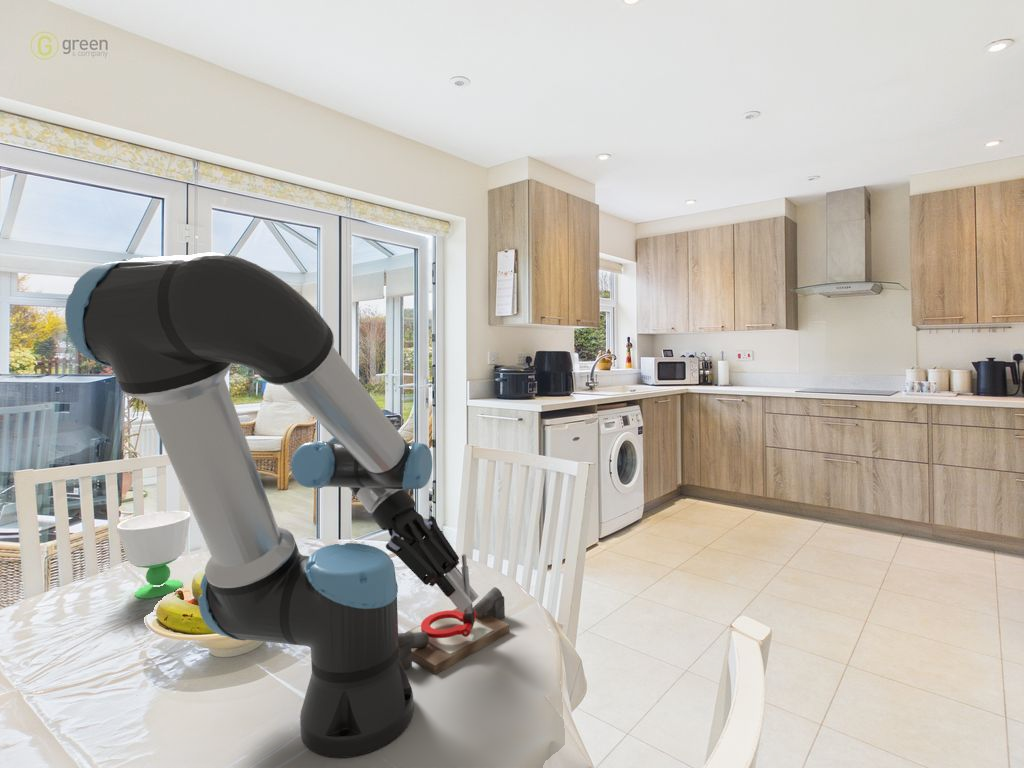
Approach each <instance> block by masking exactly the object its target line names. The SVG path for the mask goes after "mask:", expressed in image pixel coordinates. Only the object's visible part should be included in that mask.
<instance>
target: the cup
mask: <svg viewBox="0 0 1024 768" xmlns="http://www.w3.org/2000/svg"><path fill="white" fill-rule="evenodd" d="M165 511H166V513H165V512H164V511H157V512H151V513H145V514H142V515H141V514H140V515H137V516H133V517H130V518H127V519H124V520H122V521H121V522H119V523H118V524H117V526H116V530H117V533H118V536H119V539H120V542H121V545H122V547H123V551H124V554H125V558H126V560H127V562H129V563H130V565H132V566H135V567H137V568H144V569H147V571H146V575H145V579H146V582H147V583H149V584H147V585H144V586H141V587H139V589H137V590H136V591H134V597H136V598H138V599H145V600H146V599H154V598H160V597H164V596H168V595H169V594H173V593H174V591H175V590H176V589H178V588H180V589H181V588H182V587H183V586H184V585H183V584H184V583H183V581H181V580H179V579H177V580H175V579H169V578H170V577H171V569H170V567H169V566H168V564H171V563H173V562H174V561H176V560H177V559H178V558H179V557H181V556H182V555H183V553H184V552H185V549H186V543H187V537H188V532H189V525H190V520H191V513H190V512H189V511H185V510H165ZM163 583H165V584H164V585H163V586H160V587H153V585H161V584H163ZM175 592H176V591H175Z"/></svg>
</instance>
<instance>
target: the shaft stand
mask: <svg viewBox="0 0 1024 768" xmlns="http://www.w3.org/2000/svg"><path fill="white" fill-rule="evenodd" d="M472 608H473V610H474V611H475V612H476V614H477V615H476V618H475V622H474V625H473V628H472V629H471V631H470V634H469V636H467V637H464V636H463V635H455V636H452V637H447V638H432V637H429V636H428V634H427V633H426V632H422V631H421V624H420V625H418V626H417V627H414V628H412V629H410V630H408V631H405V632H398V645H399V658H400V660H401V663H402V665H403V668H404V670H405V671H407V670H408V669H410V668H412V667H413V662H414V663H415V664H417V665H419V666H420V667H422V668H423V669H426V670H427V671H429V672H430V673H432V674H434V675H437V674H439V673H440V672H443V671H444V670H446V669H447V668H449V667H451V666H452V665H455V664H456V663H459V662H460V661H462V660H464V659H465V658H467V657H469V656H470V655H472V654H474V653H476V652H478V651H479V650H481V649H483V648H485V647H486V646H488V645H489V644H492V643H493V642H495V641H497V640H499V639H501V638H502V637H504V636H505V635H507V634H509V633H510V632H511V631H510V624H509V623H508V622H505V621H502V619H504V618H505V616H506V614H505V612H506V611H505V610H506V608H505V596H503V593H502V591H501V590H500V589H499V588H498V587H496V586H494V587H492V588H491V589H490V590H489V591H488V592H487V593H486V594H485V595H484V596H483V597H482V598H481V599H480V600H479V601H478V602H477V603H476V604H475V605H474V606H472ZM452 610H453V611H459V610H458V608H457V607H456V608H454V609H452ZM463 613H464V611H463ZM457 625H464V624H463V622H460V621H459V620H458V619H455V618H444V619H440V620H437V621H435V622H433V623H432V624H431V625H430V627H431V628H433V629H437V630H445V629H450V628H453V627H455V626H457Z"/></svg>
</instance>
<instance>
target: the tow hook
mask: <svg viewBox="0 0 1024 768" xmlns="http://www.w3.org/2000/svg"><path fill="white" fill-rule="evenodd" d="M461 562H462V563H461V564H462V566H461V574H462V582H463V591H464V592H465V593H466V594H467V596H468V597H469V598H470V599H471V601H472V598H471V596H470V586H471V585H470V584H471V583H470V573H469V572H470V571H469V565H467V564H468V562H467V555H466V553H465V554H461ZM453 610H454V609H450V610H442V611H438V612H435V613H432V614H430V615H428V616H427V617H425V618H424V619H423V620H422V622H421V624H420V625H421V631H422V632H426V633H427V634H428V636H429V637H432V638H447V637H452V636H455V635H463V636H464V637H467V636H469V634H470V631H471V629H472V628H473V625H474V622H475V618H476V615H477V614H476V612H475V611H474V610H473V602H472V603H471V604H470V605H469V606H468V607H467V608H466V609H465V610H464V613H463V612H462V613H461V612H460V611H453ZM444 618H455V619H458V620H459V621H460V622H463V624H464V625H457V626H455V627H453V628H450V629H445V630H437V629H433V628H431V627H430V625H431V624H432V623H433V622H435V621H437V620H440V619H444Z"/></svg>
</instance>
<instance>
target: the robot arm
mask: <svg viewBox="0 0 1024 768" xmlns="http://www.w3.org/2000/svg"><path fill="white" fill-rule="evenodd" d="M64 310H65V311H64V312H65V313H64V315H65V316H64V318H65V319H64V320H65V326H66V330H67V334H68V336H69V338H70V341H71V342H72V344H73V345H74V346H75V348H76V350H77V351H79V352H80V354H81V355H83V356H84V357H85V358H86V359H89V360H91V361H94V362H95V363H96V364H100V365H102V366H105V367H109V368H112V371H113V374H114V375H115V378H116V379H117V382H118V384H119V386H120V389H121V392H122V393H123V394H124V395H126V396H128V397H131V398H135V399H137V400H140V401H143V402H144V403H145V406H146V408H147V410H148V413H149V416H150V417H151V419H152V422H153V424H154V426H155V428H156V431H157V433H158V436H159V438H160V440H161V443H162V444H163V447H164V449H165V452H166V454H167V456H168V458H169V462H170V463H171V466H172V468H173V470H174V472H175V475H176V477H177V479H178V481H179V484H180V486H181V489H182V491H183V493H184V496H185V498H186V500H187V502H188V505H189V507H190V510H191V511H192V514H193V516H194V519H195V522H196V523H197V525H198V528H199V530H200V532H201V534H202V537H203V540H204V542H205V544H206V547H207V549H208V551H209V553H210V555H211V556H210V558H209V560H207V563H206V564H205V565H206V566H205V569H204V574H203V576H202V578H201V582H200V585H199V589H200V590H201V591H202V593H201V594H200V595H199V596H198V599H197V600H198V601H197V602H198V609H199V613H200V616H201V618H202V621H203V622H204V624H205V626H207V628H209V630H211V631H212V632H214V633H215V634H218V635H220V636H224V637H227V638H230V639H232V640H237V641H255V642H265V643H272V644H273V643H274V644H285V645H286V644H287V645H294V646H304V647H309V648H310V659H311V674H310V678H309V682H308V685H307V688H306V692H305V696H304V698H303V704H302V706H301V710H300V715H299V720H300V721H299V722H300V725H299V726H300V736H301V740H302V742H303V744H304V745H305V746H306V747H307V748H308V749H309V750H311V751H313V752H314V753H317V754H319V755H322V756H325V757H329V758H347V757H348V758H349V757H355V756H359V755H363V754H367V753H370V752H373V751H376V750H378V749H380V748H382V747H384V746H386V745H388V744H389V743H391V742H392V741H394V740H396V739H397V738H398V736H400V735H401V734H402V733H404V731H405V730H406V729H407V727H408V726H409V725H410V723H411V721H412V718H413V715H414V708H415V707H414V693H413V687H412V686H411V683H410V681H409V678H408V676H407V672H406V670H404V668H403V665H402V663H401V660H400V658H399V645H398V633H399V619H398V614H399V613H398V591H399V590H398V589H399V586H398V582H397V575H396V568H395V563H394V562H393V559H391V557H390V555H388V553H387V552H385V551H384V550H382V549H380V548H379V547H376V546H374V545H369V544H364V543H357V542H347V543H344V544H339V543H335V544H329V545H326V546H322V547H320V548H318V549H316V550H314V551H313V552H312V553H310V555H303V554H302V553H300V550H299V547H298V545H297V542H296V539H295V538H294V535H293V533H292V532H291V531H289V530H288V529H287V528H284V527H280V526H279V527H278V523H277V522H276V518H275V515H274V513H273V510H272V508H271V505H270V501H269V499H268V496H267V493H266V491H265V488H264V484H263V482H262V480H261V477H260V474H259V471H258V468H257V465H256V463H255V459H254V457H253V454H252V451H251V450H250V446H249V443H248V440H247V438H246V434H245V432H244V429H243V426H242V423H241V420H240V418H239V416H238V412H237V409H236V407H235V404H234V401H233V398H232V396H231V393H230V391H229V388H228V384H227V382H226V379H225V378H226V376H227V374H228V372H229V371H230V369H231V368H232V366H233V364H235V365H236V364H237V365H240V366H243V367H246V368H248V369H251V370H253V372H255V373H256V374H257V375H258V376H259V377H260V378H261V379H262V380H264V381H265V382H266V383H269V384H271V385H275V386H282V387H284V389H285V390H286V391H288V393H290V395H292V396H293V398H294V399H295V400H296V401H298V403H299V404H301V406H303V408H305V410H306V411H307V412H308V413H309V414H310V415H312V417H313V418H314V419H315V420H316V421H317V422H318V423H319V424H320V425H321V426H322V427H323V428H324V429H325V430H326V432H328V434H330V435H331V436H332V437H331V438H330V439H329V440H328V441H323V440H320V441H319V440H316V441H310V442H305V443H304V444H302V445H300V446H299V447H297V449H295V451H294V453H293V454H292V457H291V460H290V462H291V463H290V473H291V475H292V477H293V479H294V480H295V482H296V483H298V485H299V486H302V487H305V488H307V489H308V488H310V489H311V488H313V489H323V488H327V487H328V488H329V487H333V488H338V487H339V488H349V489H350V491H351V492H352V493H353V494H354V496H355V497H356V498H357V499H358V500H359V502H360V503H361V504H362V506H363V507H364V509H365V510H366V511H367V512H368V513H369V514H371V517H372V519H373V520H374V522H375V523H376V524H377V526H379V528H380V529H381V530H382V531H387V532H388V534H389V536H390V540H389V541H388V542H387V543H386V544H385V548H386V550H388V551H389V552H391V553H392V554H394V555H395V556H397V557H398V558H399V560H401V561H402V563H404V565H405V566H406V567H408V569H410V571H411V572H412V573H413V574H414V575H415V576H417V578H418V579H419V580H420V581H421V582H422V583H423V584H424V585H426V586H427V585H429V586H430V587H434V586H435V585H437V587H438V588H439V589H440V591H441V592H442V593H443V594H444V595H445V596H446V597H447V598H448V599H449V600H450V601H451V602H452V603H453V605H454V606H455V607H456V608H458V610H459V611H460V612H461V613H462V612H463V611H464V610H465V609H466V608H467V607H468V606H469V605H470V604H471V603H472V604H473V603H474V602H475V601H476V600H477V599H478V598H479V597H480V596H479V595H478V593H477V592H476V591H475V590H474V588H473V587H472V586H471V585H470V596H471V598H472V601H471V599H470V598H469V597H468V596H467V594H466V593H465V592H464V591H463V582H462V571H460V570H459V569H458V568H457V566H458V565H459V564H460V562H459V559H460V558H459V555H458V554H457V552H456V551H455V550H454V548H453V546H452V545H451V543H450V542H449V541H448V539H447V537H446V536H445V534H444V533H443V531H442V530H441V528H440V527H439V525H438V523H437V520H436V518H435V517H434V516H432V515H431V516H430V517H429V518H425V517H423V516H422V515H421V514H420V513H419V512H418V511H416V510H415V507H416V502H415V500H413V498H412V497H411V495H410V494H409V493H408V492H407V491H406V490H420V489H423V488H424V487H426V486H427V484H428V483H429V481H430V479H431V475H432V471H433V456H432V450H431V449H430V448H429V446H428V445H427V444H425V443H421V442H419V443H418V442H415V441H411V442H407V441H406V439H404V438H403V436H402V435H401V434H400V432H399V431H398V430H397V428H396V427H395V425H394V424H393V423H392V421H390V418H388V417H387V415H386V414H385V413H384V412H383V410H382V408H381V407H380V406H379V405H378V404H377V402H376V401H375V399H374V398H373V397H372V395H371V394H370V393H369V392H368V390H367V389H366V387H365V386H364V384H362V383H361V381H360V380H359V378H358V377H357V375H355V373H354V372H353V371H352V369H351V368H350V367H349V365H348V364H347V363H346V361H345V360H344V359H343V358H342V356H341V355H340V353H338V351H337V349H336V348H335V347H334V345H335V337H334V333H333V331H332V329H331V327H330V326H329V325H328V323H327V322H326V320H325V319H324V318H323V317H322V315H321V314H320V313H319V311H318V310H317V309H315V307H314V306H313V305H312V304H311V302H309V301H308V300H307V299H306V298H305V297H304V296H303V295H301V293H299V292H298V291H297V290H296V289H294V288H293V287H292V286H291V285H290V284H289V283H288V282H285V281H284V280H283V279H281V277H280V278H279V277H278V276H277V275H275V274H274V273H273V272H271V271H269V270H268V269H266V268H264V267H262V266H260V265H258V264H256V263H254V262H252V261H249V260H247V259H244V258H241V257H238V256H235V255H231V254H226V253H219V252H218V253H217V252H204V253H197V254H191V255H190V254H187V255H171V256H158V257H155V256H154V257H143V258H141V257H136V258H135V257H134V258H124V259H122V260H118V261H112V262H107V263H103V264H99V265H97V266H94V267H92V268H91V269H89V270H88V271H86V272H85V273H84V274H82V275H81V276H80V277H79V278H78V279H77V281H76V282H75V283H74V285H73V289H72V291H71V292H70V294H69V295H68V297H67V299H66V303H65V309H64Z"/></svg>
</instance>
